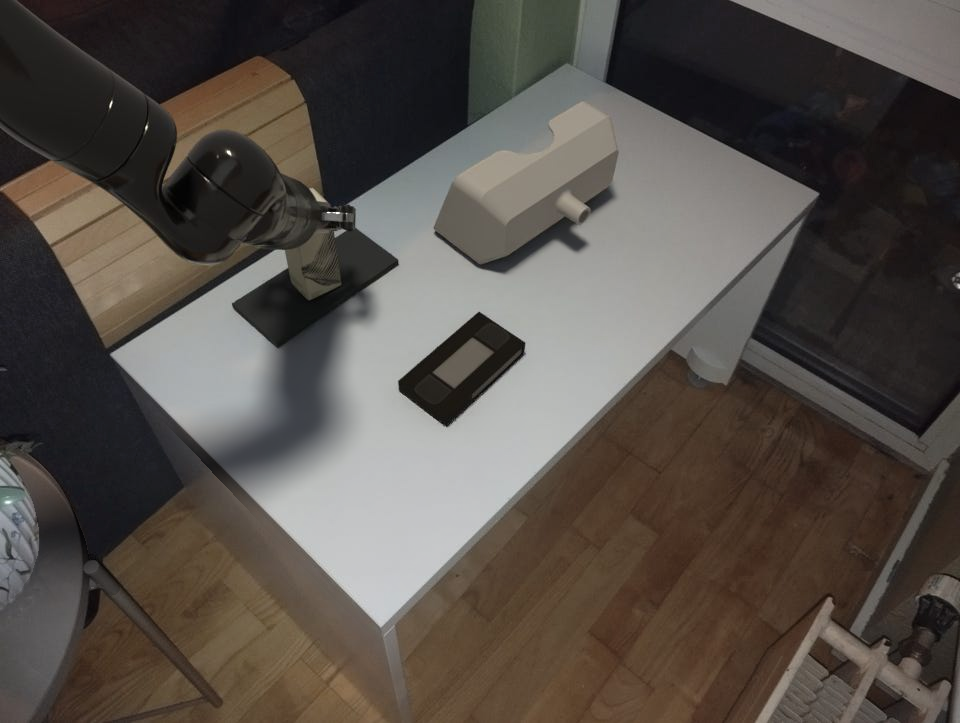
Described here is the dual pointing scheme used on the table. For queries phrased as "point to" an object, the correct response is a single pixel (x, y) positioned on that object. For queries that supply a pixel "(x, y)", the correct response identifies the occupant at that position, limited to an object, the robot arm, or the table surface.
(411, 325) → the table surface
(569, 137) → the tank
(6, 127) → the robot arm
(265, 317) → the scrub mat
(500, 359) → the vhs tape
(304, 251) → the box
